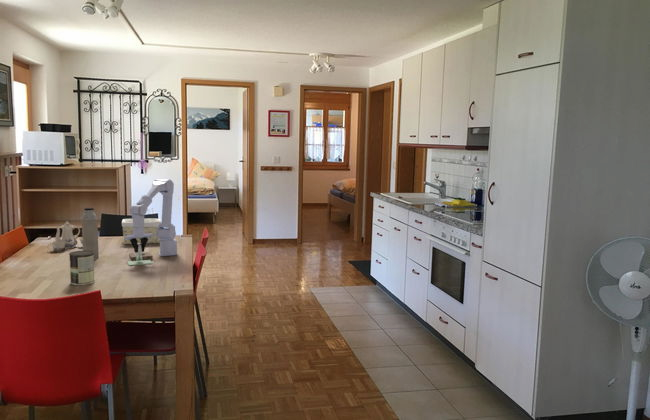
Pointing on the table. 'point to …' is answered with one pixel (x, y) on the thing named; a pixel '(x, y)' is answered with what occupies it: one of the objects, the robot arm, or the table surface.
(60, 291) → the table surface
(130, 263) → the sage mat
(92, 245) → the thermos bottle
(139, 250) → the steel peg
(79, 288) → the table surface
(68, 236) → the chinaware
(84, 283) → the coffee can
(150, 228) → the storage basket
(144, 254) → the eye block
